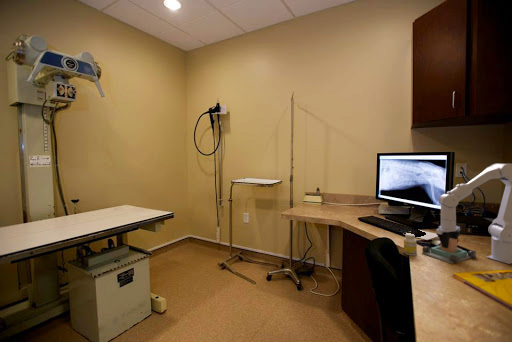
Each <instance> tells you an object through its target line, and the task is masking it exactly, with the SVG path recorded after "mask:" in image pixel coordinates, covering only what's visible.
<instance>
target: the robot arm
mask: <svg viewBox="0 0 512 342" xmlns="http://www.w3.org/2000/svg"><path fill="white" fill-rule="evenodd" d="M495 179H499V180H500V181H501V182H502V183H503V184H504V185H505V188H504V191H503V195H502V198H501V202H500V205H499V210H498V214H497V217H496V218H494V219H493V220H492V223H491V224H490V225H489V226H488V231H487V232H488V233H489V234H490V235H491V254H490V255H488V256H486V258H487V259H491V260H494V261H497V262H501V263H504V264H508V265H509V264H510V265H511V264H512V163H500V162H498V163H497V162H496V163H493V164H491V165H490V166H487V167H486V168H485V169H484V170H483V171H482V172H480V173H479V174H478V175H476V176H475V177H473V178H472V179H471V180H469V181H468V182H467V183H460V184H459V183H458V184H456V185H455V187H454V188H453V189H451V190H450V191H449V190H448V191H446V193H443V194H441V195H440V196H439V197H438V200H437V201H438V203H439V204H440V225H439V226H438V228H437V229H435V234H437V235H438V237H437V238H438V239H439V241H441V245H442V247H444V248H448V244H449V239H450V238H454V239H457V240H458V238H459V236H460V235H461V232H460V231H461V226H459V225H457V213H456V212H457V207H458V205H459V202H461V201H463V200H464V199H465V198H467V197H468V196H470V195H471V194H472V193H473V190H474V189H475V188H477V187H479V186H480V185H483V184H485V183H486V182H489V181H490V180H495Z"/></svg>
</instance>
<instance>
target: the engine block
mask: <svg viewBox="0 0 512 342" xmlns="http://www.w3.org/2000/svg"><path fill="white" fill-rule="evenodd" d="M439 241H440V240H439ZM457 242H458V238H457V239H454V238H450V239H449V244H448V248H444V247H442V245H441V241H440V243H439V246H440V250H442V251H445V252H448V253H453V252H457V249H458V243H457Z"/></svg>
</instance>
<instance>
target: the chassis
mask: <svg viewBox="0 0 512 342" xmlns="http://www.w3.org/2000/svg"><path fill="white" fill-rule="evenodd" d="M421 254H423V255H425V256H428V257H431V258H433V259H436V260H439V261H442V262H445V263H448V264H450V265H452V264H458V262H459V263H460V262H463V261H467V260H470V259H476V257H477V253H476V251H474V250H468V251H467V250H463V249H460V248H457V252H453V253H448V252H445V251H442V250H440V245H437V246H434V247H433V246H432V247H429V246H426V245H424V246H423V247H422V252H421Z"/></svg>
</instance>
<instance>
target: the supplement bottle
mask: <svg viewBox="0 0 512 342" xmlns="http://www.w3.org/2000/svg"><path fill="white" fill-rule="evenodd" d="M405 233H406V234H404V235H405V236H404V238H403V253H404V254H406V255H408V256H417V254H418V253H417V252H418V249H417V239H416V237H415V235H414V234H411V233H407V232H405Z"/></svg>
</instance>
